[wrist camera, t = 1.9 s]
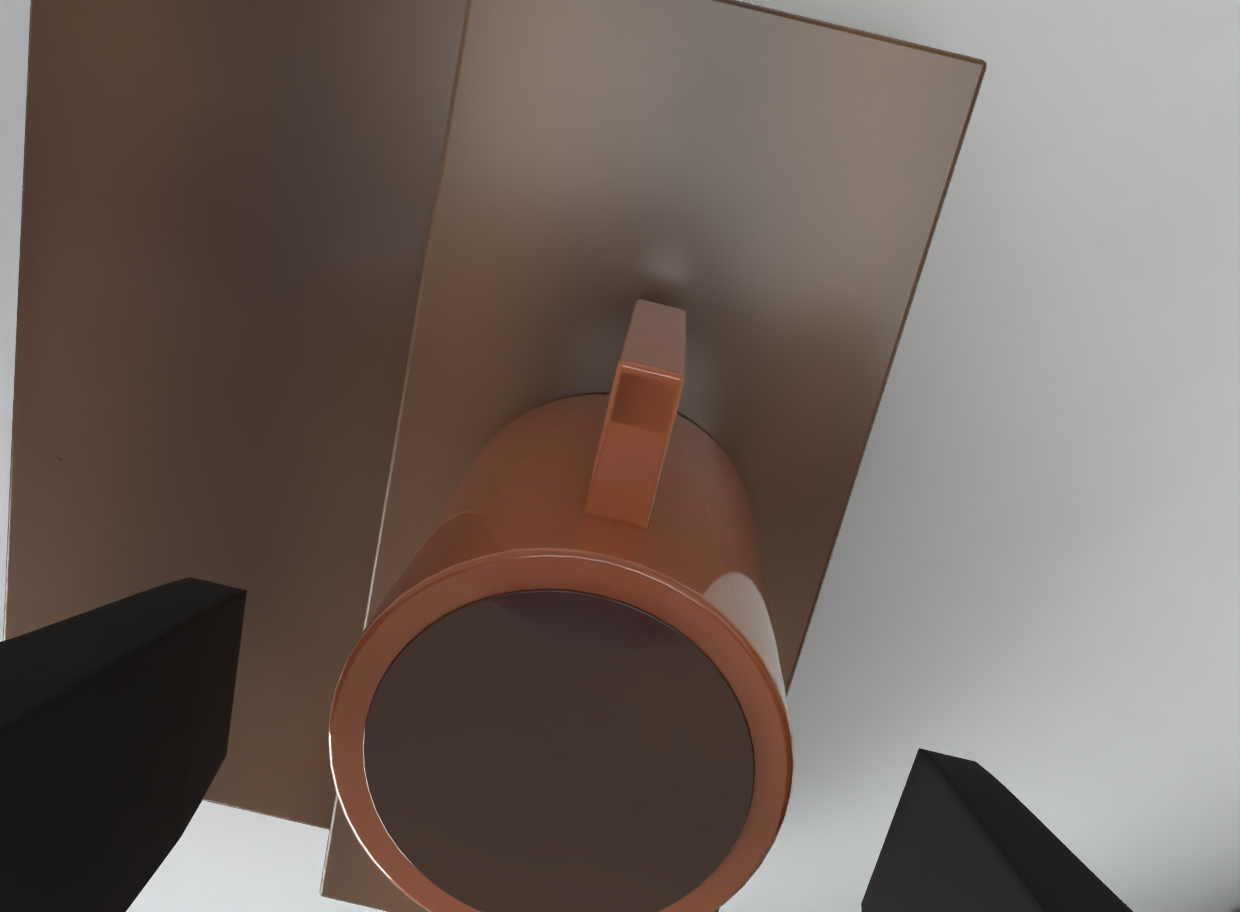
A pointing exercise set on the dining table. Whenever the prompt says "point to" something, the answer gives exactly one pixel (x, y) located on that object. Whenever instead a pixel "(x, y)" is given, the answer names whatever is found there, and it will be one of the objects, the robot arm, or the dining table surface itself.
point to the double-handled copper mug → (575, 668)
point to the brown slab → (433, 296)
